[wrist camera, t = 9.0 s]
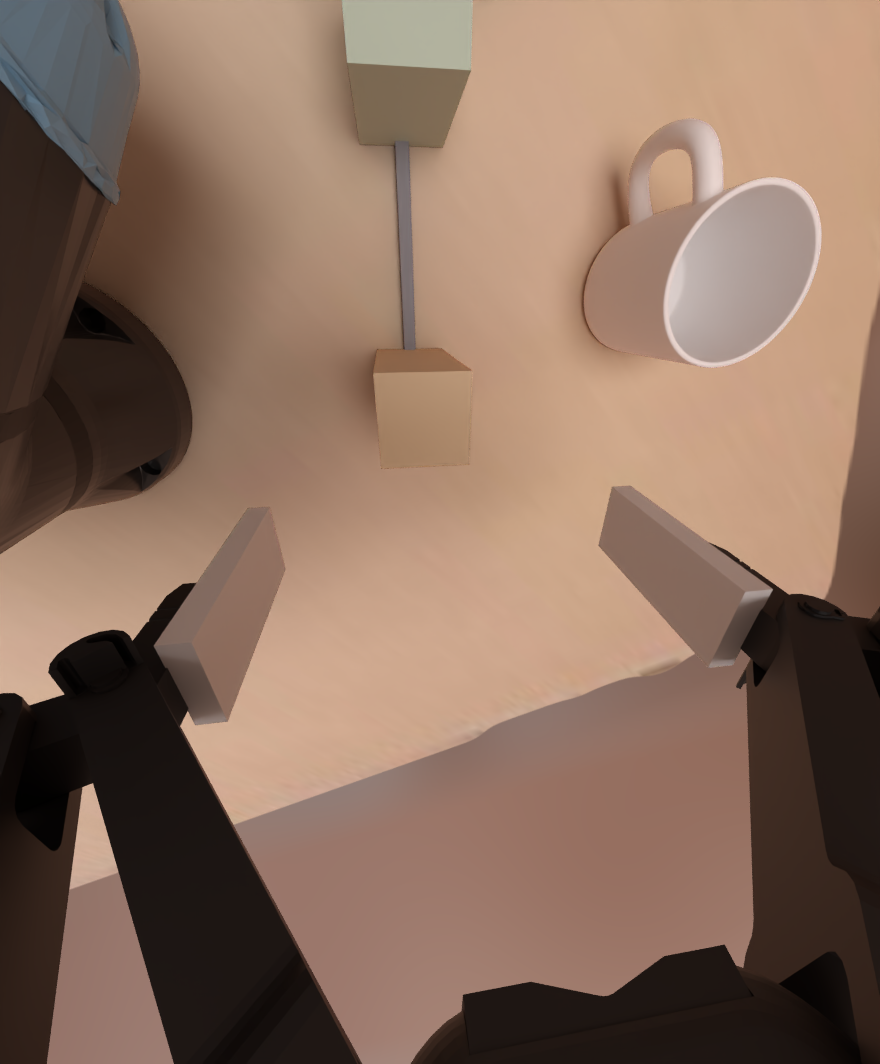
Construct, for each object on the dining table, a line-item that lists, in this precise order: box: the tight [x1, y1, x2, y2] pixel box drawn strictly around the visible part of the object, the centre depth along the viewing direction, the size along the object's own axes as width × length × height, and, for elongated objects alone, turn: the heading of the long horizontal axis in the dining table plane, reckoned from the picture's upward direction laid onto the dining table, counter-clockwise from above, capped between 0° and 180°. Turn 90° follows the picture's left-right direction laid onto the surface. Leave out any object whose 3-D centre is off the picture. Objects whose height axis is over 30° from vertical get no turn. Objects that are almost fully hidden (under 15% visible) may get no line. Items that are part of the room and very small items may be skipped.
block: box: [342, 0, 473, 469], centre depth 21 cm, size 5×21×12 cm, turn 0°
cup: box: [584, 118, 821, 368], centre depth 24 cm, size 8×12×10 cm
